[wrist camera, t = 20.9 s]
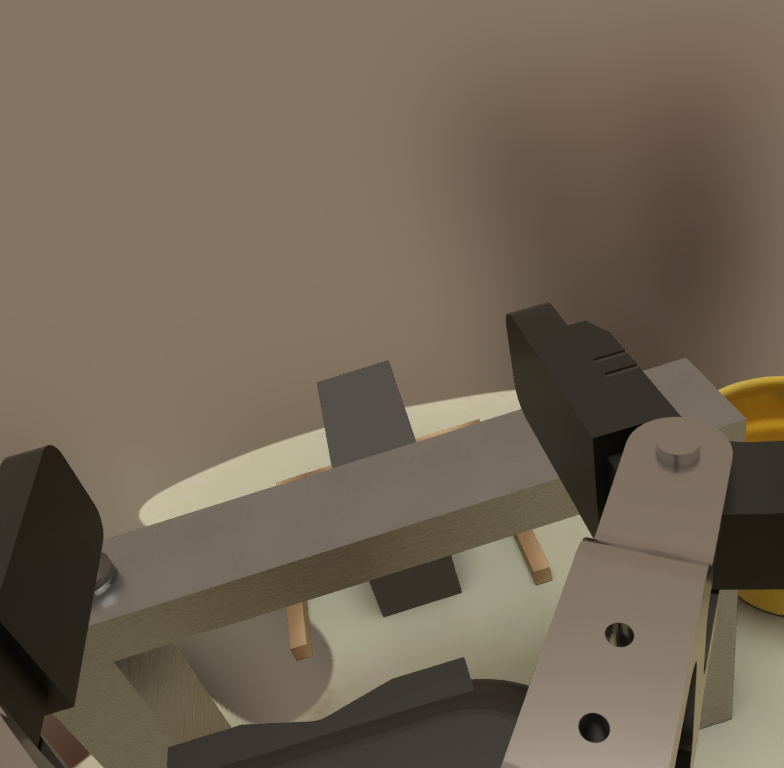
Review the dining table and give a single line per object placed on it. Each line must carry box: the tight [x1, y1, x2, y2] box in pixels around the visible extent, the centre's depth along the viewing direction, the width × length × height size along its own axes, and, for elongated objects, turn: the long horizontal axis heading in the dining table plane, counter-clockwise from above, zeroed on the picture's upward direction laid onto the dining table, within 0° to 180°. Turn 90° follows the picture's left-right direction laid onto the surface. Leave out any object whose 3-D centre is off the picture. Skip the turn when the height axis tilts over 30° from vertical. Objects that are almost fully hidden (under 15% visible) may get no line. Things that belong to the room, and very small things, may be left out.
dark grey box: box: [317, 361, 462, 617], centre depth 48 cm, size 5×13×10 cm, turn 11°
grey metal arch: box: [53, 358, 747, 768], centre depth 32 cm, size 26×4×20 cm, turn 101°
